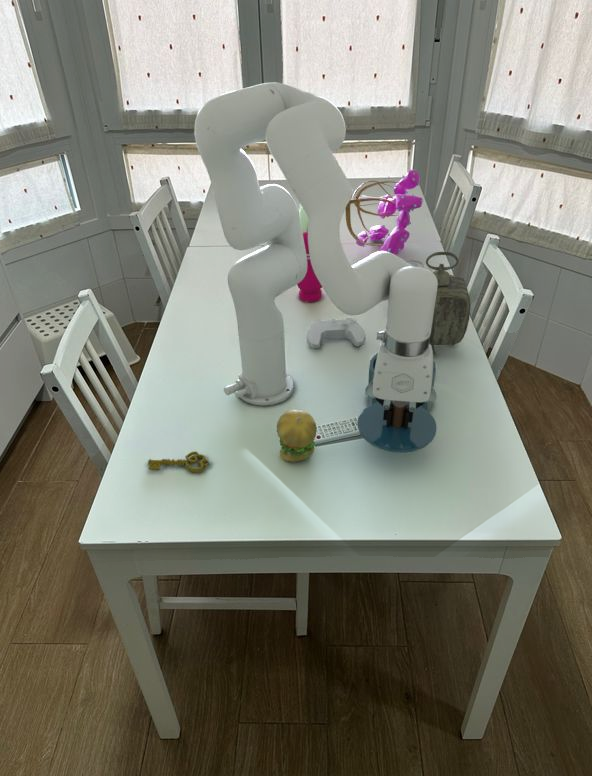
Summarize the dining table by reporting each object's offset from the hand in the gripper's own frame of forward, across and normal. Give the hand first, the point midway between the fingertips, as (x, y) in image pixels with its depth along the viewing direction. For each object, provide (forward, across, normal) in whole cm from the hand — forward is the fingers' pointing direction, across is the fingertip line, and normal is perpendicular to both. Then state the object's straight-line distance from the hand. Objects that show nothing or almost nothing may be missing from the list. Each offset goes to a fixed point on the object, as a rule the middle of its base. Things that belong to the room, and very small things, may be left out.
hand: (397, 422), depth 119 cm
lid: (+1, 0, 0) cm, 1 cm away
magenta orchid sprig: (+9, -15, +95) cm, 97 cm away
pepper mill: (+9, -25, +62) cm, 67 cm away
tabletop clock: (+8, +8, +38) cm, 39 cm away
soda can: (+9, +2, +59) cm, 60 cm away
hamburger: (+8, -18, -4) cm, 21 cm away
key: (+9, -41, -8) cm, 43 cm away
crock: (+8, +1, +17) cm, 18 cm away
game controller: (+9, -16, +40) cm, 44 cm away
